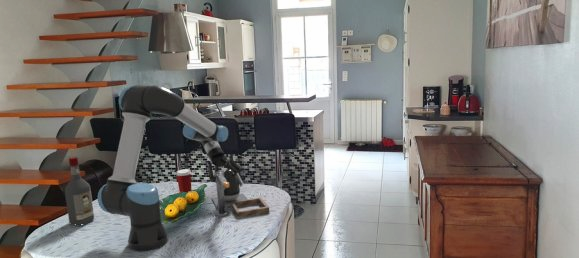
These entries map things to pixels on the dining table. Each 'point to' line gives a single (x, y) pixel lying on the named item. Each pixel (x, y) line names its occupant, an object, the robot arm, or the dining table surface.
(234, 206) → the cradle
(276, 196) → the dining table surface
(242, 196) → the mat
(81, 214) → the liquor
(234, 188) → the dark grey rounded cone
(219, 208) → the post
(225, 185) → the clip
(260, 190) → the dining table surface
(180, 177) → the paper cup
